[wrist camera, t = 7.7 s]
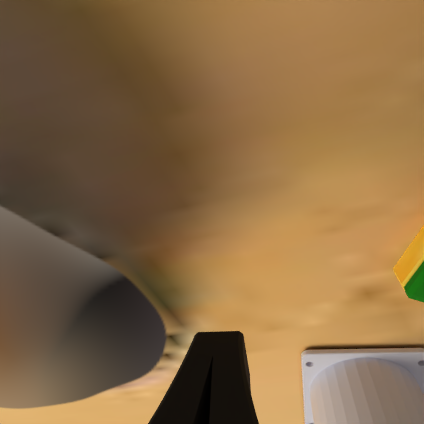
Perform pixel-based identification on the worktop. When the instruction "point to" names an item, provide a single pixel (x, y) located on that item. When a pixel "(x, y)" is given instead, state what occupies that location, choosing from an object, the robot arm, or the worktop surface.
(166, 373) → the worktop surface
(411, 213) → the worktop surface
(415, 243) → the dish sponge
